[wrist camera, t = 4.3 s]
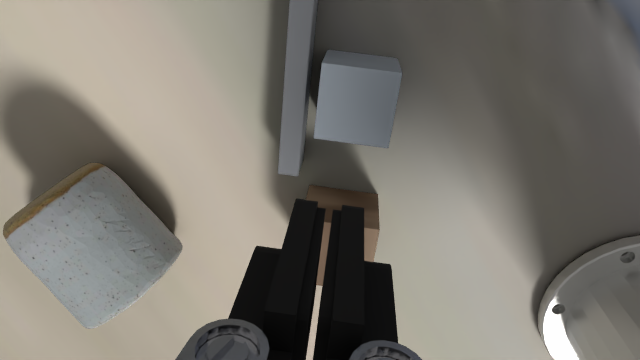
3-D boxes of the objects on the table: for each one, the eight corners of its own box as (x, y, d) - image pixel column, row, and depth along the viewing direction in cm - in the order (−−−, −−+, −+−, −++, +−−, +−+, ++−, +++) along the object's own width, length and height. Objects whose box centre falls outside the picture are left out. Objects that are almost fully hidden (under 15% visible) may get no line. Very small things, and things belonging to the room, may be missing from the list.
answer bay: (326, -90, 23) (322, -95, 21) (303, 159, 29) (297, 176, 27) (-134, -140, 24) (-186, -151, 22) (-63, 112, 30) (-98, 124, 28)
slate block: (397, 57, 26) (402, 73, 22) (385, 124, 28) (388, 148, 24) (328, 49, 26) (322, 62, 22) (320, 115, 28) (313, 138, 24)
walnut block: (377, 193, 30) (379, 229, 26) (367, 250, 32) (367, 292, 28) (309, 184, 30) (300, 218, 26) (303, 241, 32) (294, 281, 28)
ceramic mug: (115, 138, 30) (37, 193, 23) (200, 228, 32) (152, 302, 25) (22, 215, 33) (-70, 282, 26) (104, 290, 36) (40, 370, 29)
